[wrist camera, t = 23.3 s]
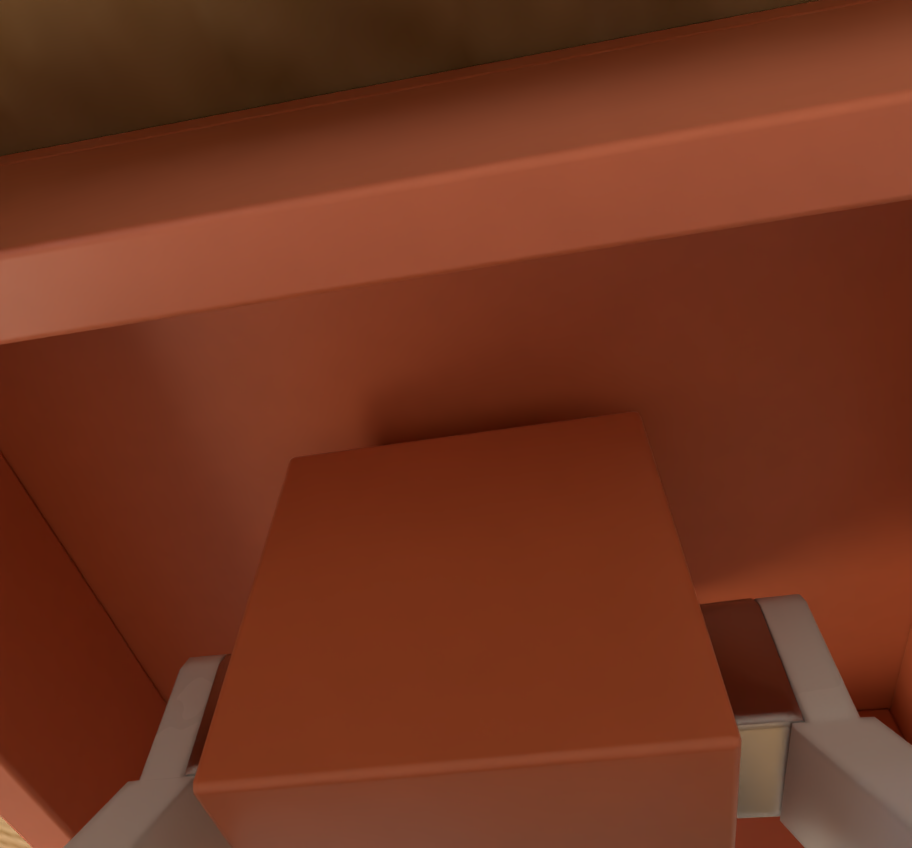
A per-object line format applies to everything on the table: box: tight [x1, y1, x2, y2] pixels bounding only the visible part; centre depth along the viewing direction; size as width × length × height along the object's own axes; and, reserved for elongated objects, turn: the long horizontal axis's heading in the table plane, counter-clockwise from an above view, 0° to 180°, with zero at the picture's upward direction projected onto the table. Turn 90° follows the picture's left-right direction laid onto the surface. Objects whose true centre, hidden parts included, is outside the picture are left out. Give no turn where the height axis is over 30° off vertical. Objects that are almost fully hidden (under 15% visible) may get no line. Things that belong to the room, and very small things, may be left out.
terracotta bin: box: [0, 0, 912, 848], centre depth 11 cm, size 15×13×4 cm
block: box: [193, 411, 742, 848], centre depth 9 cm, size 4×4×4 cm
